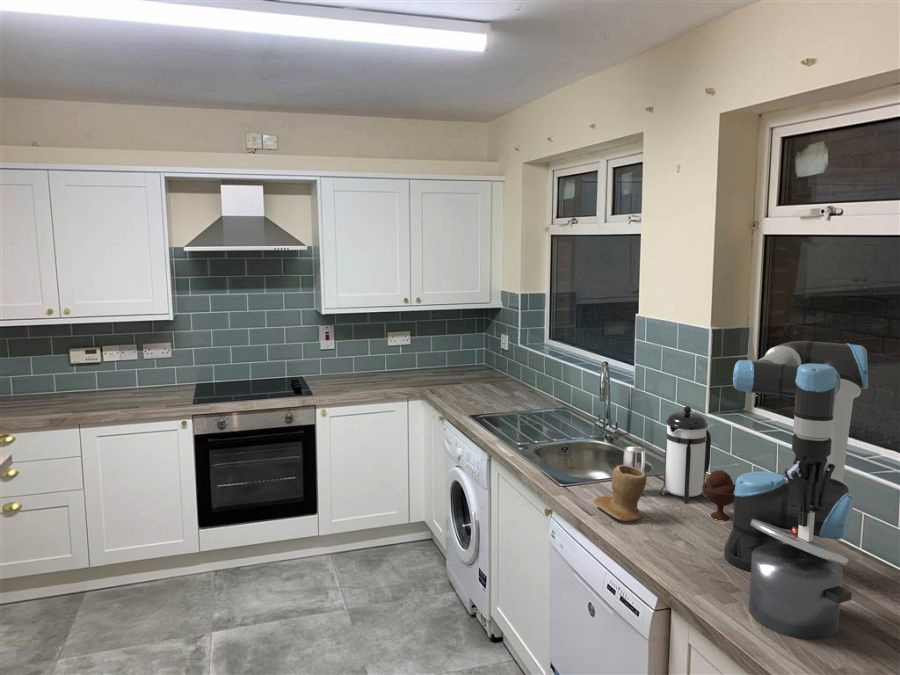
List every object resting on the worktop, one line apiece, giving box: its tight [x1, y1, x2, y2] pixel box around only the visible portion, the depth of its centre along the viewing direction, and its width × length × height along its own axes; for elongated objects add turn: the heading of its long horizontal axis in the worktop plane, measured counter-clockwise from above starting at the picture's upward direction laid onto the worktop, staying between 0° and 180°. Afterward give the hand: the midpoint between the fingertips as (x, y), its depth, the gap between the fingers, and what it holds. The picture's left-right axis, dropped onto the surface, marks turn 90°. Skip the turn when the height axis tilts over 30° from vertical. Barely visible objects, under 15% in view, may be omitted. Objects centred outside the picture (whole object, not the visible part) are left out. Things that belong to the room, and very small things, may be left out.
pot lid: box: [750, 519, 850, 567], centre depth 151 cm, size 20×20×3 cm
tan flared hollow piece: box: [592, 464, 647, 522], centre depth 209 cm, size 15×12×15 cm
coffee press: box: [659, 405, 712, 504], centre depth 224 cm, size 17×16×30 cm
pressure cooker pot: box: [746, 543, 853, 640], centre depth 153 cm, size 20×24×13 cm
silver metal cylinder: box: [622, 445, 646, 473], centre depth 226 cm, size 7×7×15 cm
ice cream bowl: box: [702, 469, 736, 522], centre depth 206 cm, size 11×11×15 cm
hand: (805, 538), depth 152 cm, fingers closed
